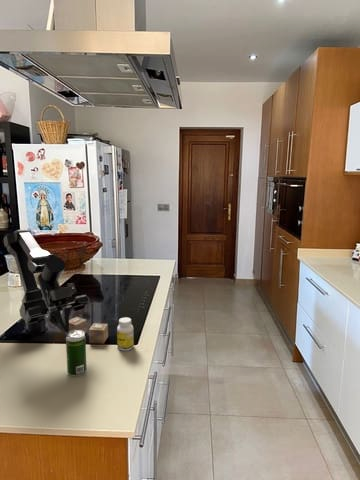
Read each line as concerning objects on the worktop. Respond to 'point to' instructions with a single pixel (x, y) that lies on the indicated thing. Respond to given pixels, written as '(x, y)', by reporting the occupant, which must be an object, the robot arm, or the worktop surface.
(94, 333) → the marked cube
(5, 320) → the worktop surface
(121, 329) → the supplement bottle
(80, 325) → the marked cube
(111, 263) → the worktop surface
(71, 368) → the beer can
